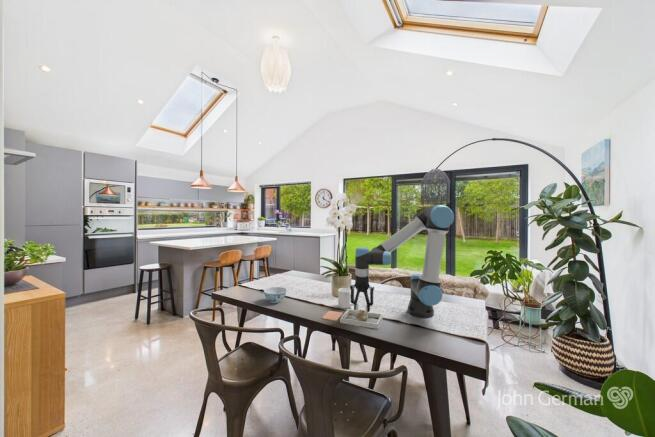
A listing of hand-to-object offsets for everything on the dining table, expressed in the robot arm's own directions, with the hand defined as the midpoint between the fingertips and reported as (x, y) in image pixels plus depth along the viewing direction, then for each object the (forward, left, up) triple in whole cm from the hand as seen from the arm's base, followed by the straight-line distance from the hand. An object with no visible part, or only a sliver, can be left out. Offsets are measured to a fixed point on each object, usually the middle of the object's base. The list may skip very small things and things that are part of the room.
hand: (361, 316), depth 152 cm
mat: (+17, 0, -2) cm, 18 cm away
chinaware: (+62, -9, -3) cm, 63 cm away
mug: (+14, -17, -3) cm, 22 cm away
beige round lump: (0, 0, -2) cm, 2 cm away
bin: (0, 0, -2) cm, 2 cm away
